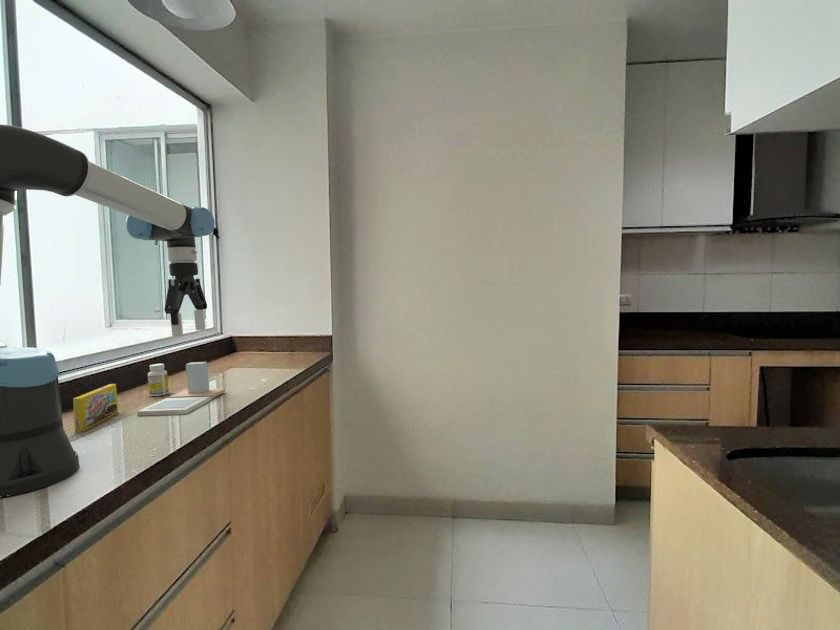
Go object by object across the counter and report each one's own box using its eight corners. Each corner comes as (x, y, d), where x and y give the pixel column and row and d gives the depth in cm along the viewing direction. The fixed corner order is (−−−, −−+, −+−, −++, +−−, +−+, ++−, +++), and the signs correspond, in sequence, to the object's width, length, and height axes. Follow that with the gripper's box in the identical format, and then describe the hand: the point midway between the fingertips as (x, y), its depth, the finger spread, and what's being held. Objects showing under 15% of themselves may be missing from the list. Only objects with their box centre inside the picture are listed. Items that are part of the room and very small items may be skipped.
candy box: (84, 432, 106) (80, 398, 106) (74, 433, 106) (70, 398, 105) (119, 412, 122) (116, 383, 122) (111, 413, 122) (108, 383, 121)
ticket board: (185, 414, 117) (185, 409, 117) (137, 415, 118) (136, 410, 118) (211, 399, 131) (211, 395, 131) (168, 401, 132) (168, 396, 132)
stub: (212, 398, 132) (209, 365, 131) (169, 400, 132) (166, 366, 131) (225, 391, 140) (222, 360, 139) (184, 393, 140) (181, 361, 139)
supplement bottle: (156, 397, 137) (153, 366, 137) (145, 396, 140) (142, 365, 139) (172, 393, 142) (170, 363, 141) (162, 391, 145) (159, 362, 144)
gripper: (172, 260, 121) (180, 338, 122) (214, 263, 145) (220, 327, 147) (145, 261, 121) (153, 339, 122) (191, 264, 145) (197, 328, 147)
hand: (189, 333), depth 135 cm, fingers open, 13 cm apart
